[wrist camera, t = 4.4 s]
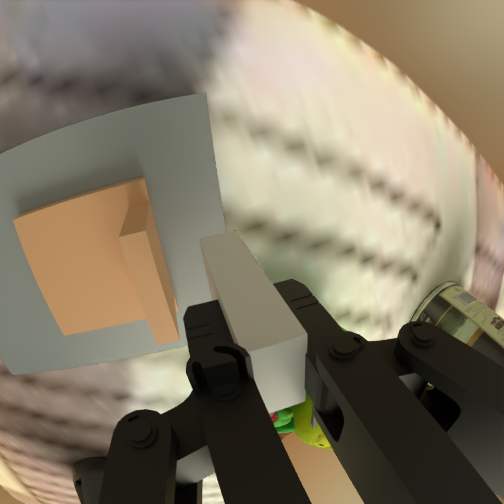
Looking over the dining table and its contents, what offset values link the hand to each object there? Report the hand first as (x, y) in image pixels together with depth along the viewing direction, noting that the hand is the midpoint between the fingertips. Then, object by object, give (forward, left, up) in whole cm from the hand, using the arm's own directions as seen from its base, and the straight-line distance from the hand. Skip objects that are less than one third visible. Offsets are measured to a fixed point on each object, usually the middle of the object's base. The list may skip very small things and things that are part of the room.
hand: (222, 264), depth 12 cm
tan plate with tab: (0, +6, -3) cm, 7 cm away
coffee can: (-18, -25, -7) cm, 31 cm away
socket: (0, +8, -6) cm, 10 cm away
